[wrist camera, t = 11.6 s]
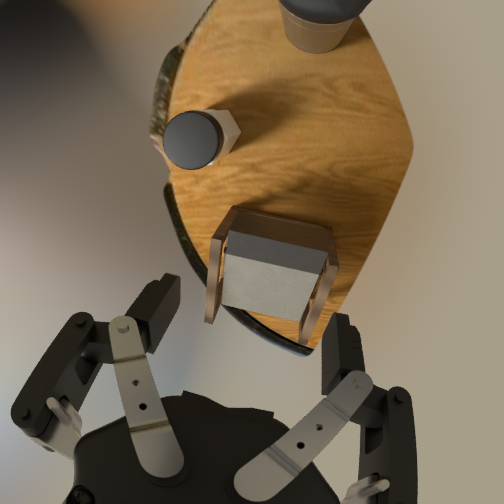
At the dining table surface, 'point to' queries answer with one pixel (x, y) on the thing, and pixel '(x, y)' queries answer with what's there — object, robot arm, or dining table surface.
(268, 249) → the trapdoor
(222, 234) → the frame
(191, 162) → the jar
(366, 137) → the dining table surface
